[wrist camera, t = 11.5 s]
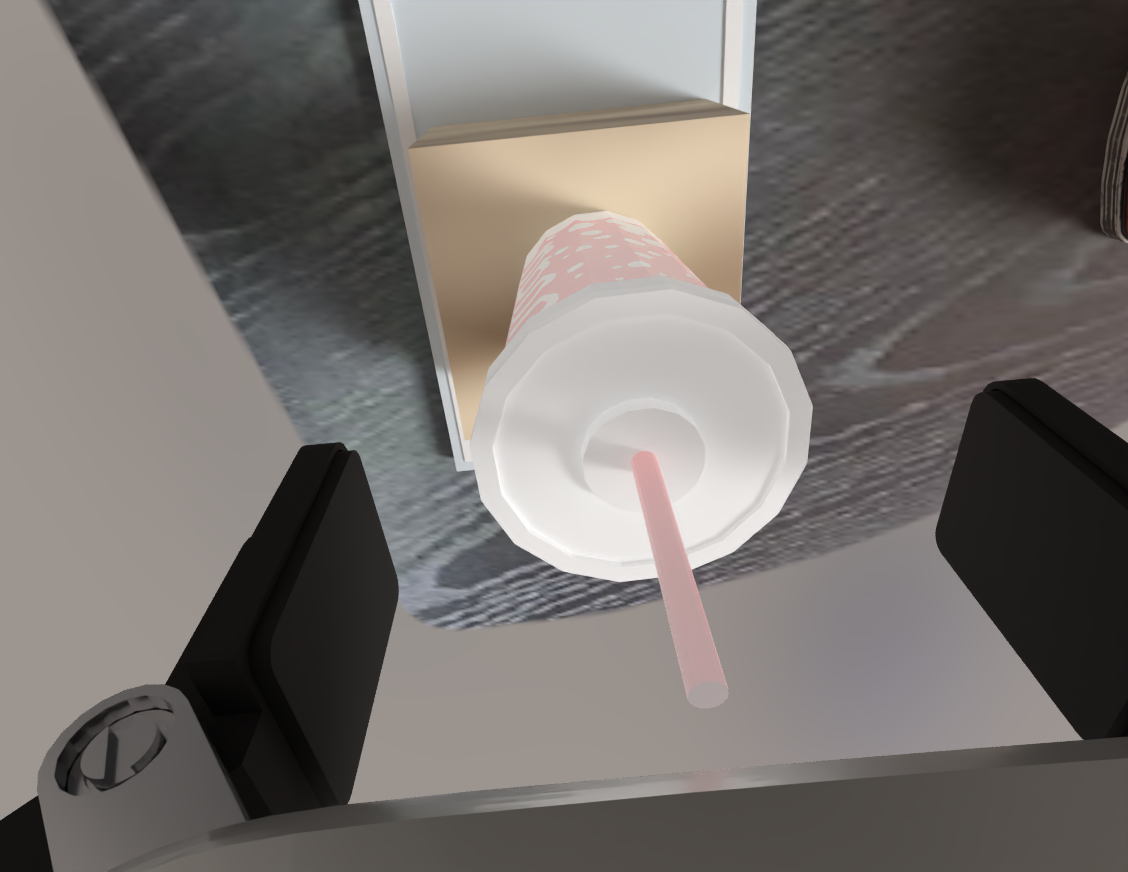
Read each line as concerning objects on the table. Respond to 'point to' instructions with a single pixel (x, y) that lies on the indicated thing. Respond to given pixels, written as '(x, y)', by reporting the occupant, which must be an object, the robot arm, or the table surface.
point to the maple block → (570, 206)
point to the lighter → (1116, 173)
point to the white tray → (539, 84)
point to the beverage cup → (637, 422)
